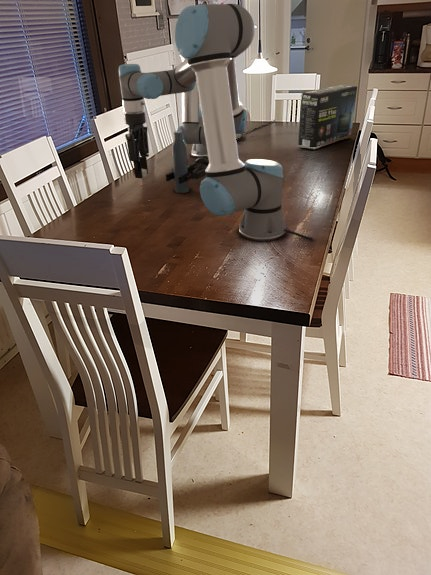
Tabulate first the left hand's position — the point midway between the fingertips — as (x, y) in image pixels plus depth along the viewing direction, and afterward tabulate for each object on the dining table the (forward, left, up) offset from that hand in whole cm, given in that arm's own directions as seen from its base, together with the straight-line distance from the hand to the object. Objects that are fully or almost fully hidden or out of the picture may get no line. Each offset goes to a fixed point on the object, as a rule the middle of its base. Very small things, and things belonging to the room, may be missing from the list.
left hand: (173, 179), depth 181 cm
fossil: (-94, +9, -6) cm, 95 cm away
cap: (+6, -11, +5) cm, 13 cm away
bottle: (-5, +2, -6) cm, 8 cm away
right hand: (+6, -11, +3) cm, 12 cm away
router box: (-84, +62, -6) cm, 105 cm away
